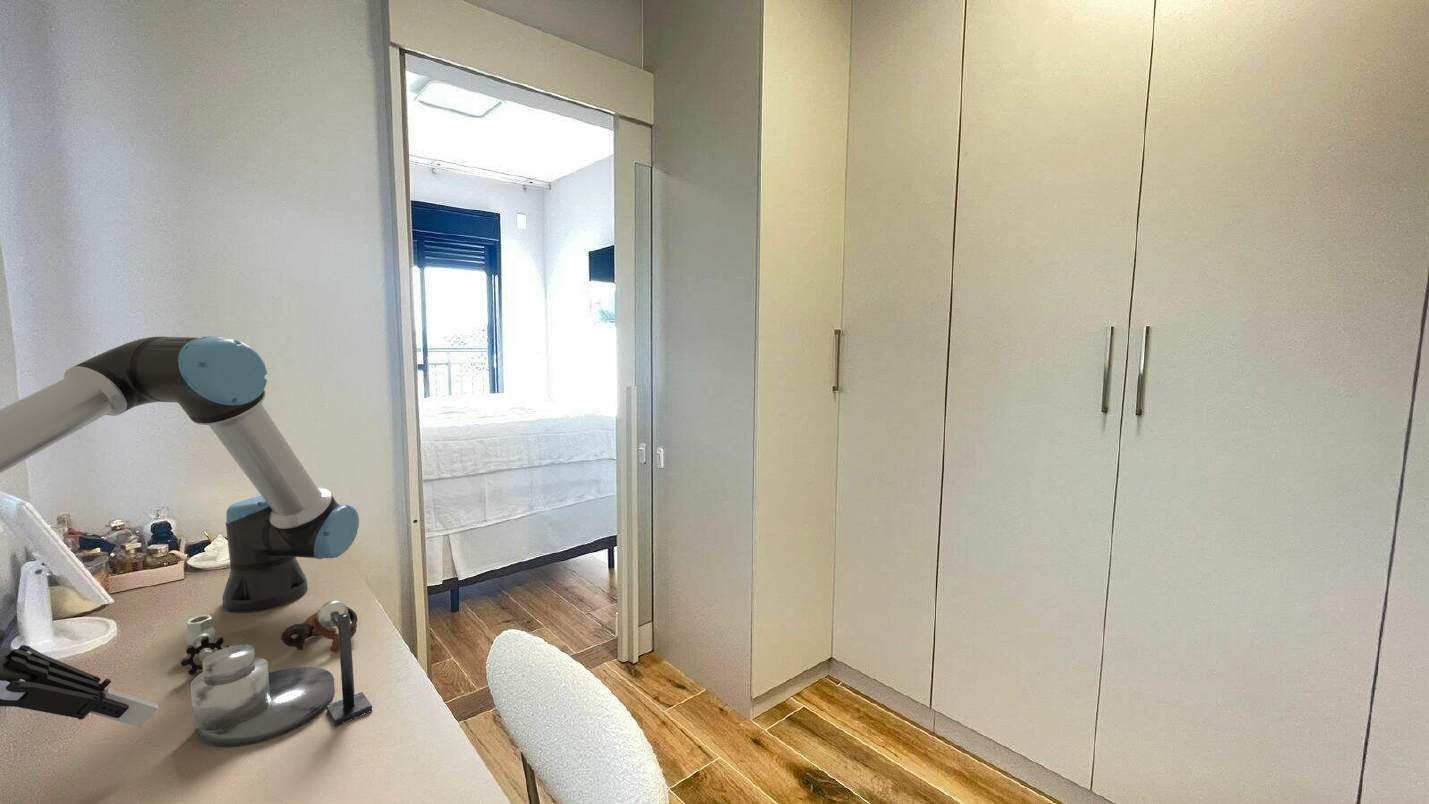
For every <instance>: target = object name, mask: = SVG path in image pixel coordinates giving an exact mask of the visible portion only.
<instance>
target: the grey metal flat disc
mask: <svg viewBox="0 0 1429 804" xmlns="http://www.w3.org/2000/svg"><path fill="white" fill-rule="evenodd" d="M268 673H269V686H270V698H271V700H270V703H269V705H268V706H267V707H266V708H265V709H264V710H263V711H262V712H261V713H259V714H258V715H256V716H254V717H253V718H251V719H249V720H247V721H245V722H242V723H240V724H237V725H234V726H231V727H228V728H224V729H219V730H200V729H198V732H199V736H200V739H201V740H202V741H203V742H204V743H206V744H207V745H210V746H214V747H219V748H220V747H222V748H233V747H242V746H248V745H253V744H257V743H261V742H265V741H269V740H272V739H275V738H277V737H280V736H283V735H285V734H287V733H290V732H292V731H294V730H296V729H298V728H300V727H302V726H303V725H306V724H307V723H309V722H310V721H312V720H313V719H315V718H316V717H317V716H319V715H320V714H321V713H323V711H324V710H326V709H327V705H329V703H330V702H331V703H332V702H333V699H334V697H335V693H336V689H335V688H336V687H335V677H334V675H333V674H332V673H331V672H330V671H329V670H327V669H324V668H321V667H316V666H297V667H289V668H283V669H279V670H274V671H270V672H268ZM331 703H330V704H331Z"/></svg>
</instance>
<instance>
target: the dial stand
mask: <svg viewBox="0 0 1429 804" xmlns="http://www.w3.org/2000/svg"><path fill="white" fill-rule="evenodd" d="M347 607H348V605H346V604H345V603H344V602H343V601H341V600H338V599H335V600H330V601H327V602H325V603H324V604H323V605H321V607H320V608H319V609H320V610H319V609H318V610H319V612H318V620H319V622H320V623H321V624H322V625H323V626H325V627H333V628H336V627H337V628H336V629H337V631H338V632H337V634H339V661H340V662H339V665H340V675H341V676H340V679H341V691H342V693H341V694H342V699H340V700H337V701H335V702H331V703H330V704H329V705H327V707H326V713H327V712H328V713H327V714H328V716H329V718H330V720H331V721H332V722H333V724H334V726H335V727H337V726H340V725H343V724H344V723H343V722H345V723H347V722H349V721H348V720H350V721H352V720H355V719H356V718H355V717H357V718H359V717H361V716H360V715H362V714H364V713H367V712H369V711H371V712H373V705H372V704H371V702H370V701H369V699H368V698H367V697H366V695H365V694H364V692H363V691H361V692H358V693H355V680H354V667H353V666H354V664H353V647H352V646H353V645H352V638H351V629H350V624H351V620H350V614H349V613H348V608H347ZM369 713H370V712H369ZM367 714H368V713H367ZM364 715H365V714H364ZM358 716H359V717H358ZM362 716H363V715H362ZM354 718H355V719H354ZM351 719H352V720H351ZM346 721H347V722H346Z"/></svg>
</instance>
